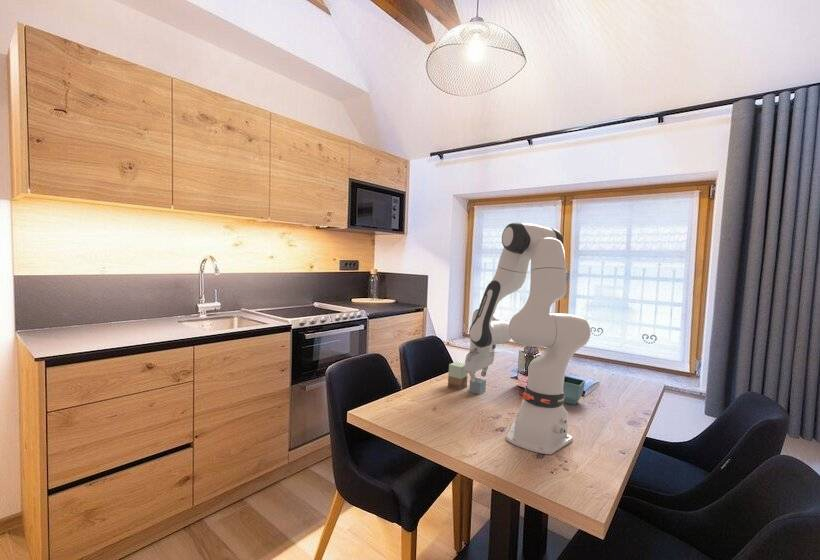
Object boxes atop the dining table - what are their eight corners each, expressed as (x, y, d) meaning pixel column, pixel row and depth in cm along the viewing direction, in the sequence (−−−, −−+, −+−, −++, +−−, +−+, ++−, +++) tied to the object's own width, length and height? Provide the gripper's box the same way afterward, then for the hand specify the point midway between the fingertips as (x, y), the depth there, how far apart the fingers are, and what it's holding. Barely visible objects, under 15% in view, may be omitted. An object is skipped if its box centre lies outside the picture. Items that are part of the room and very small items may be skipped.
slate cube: (480, 394, 155) (480, 383, 155) (469, 391, 158) (469, 380, 158) (485, 391, 159) (486, 380, 159) (474, 389, 162) (475, 377, 162)
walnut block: (460, 390, 159) (460, 379, 159) (447, 387, 163) (448, 375, 163) (466, 387, 164) (467, 375, 164) (454, 384, 168) (455, 372, 167)
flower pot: (578, 408, 146) (580, 385, 146) (555, 402, 151) (556, 380, 151) (583, 402, 153) (585, 380, 153) (561, 396, 158) (562, 375, 158)
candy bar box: (542, 392, 162) (544, 354, 161) (532, 393, 160) (535, 355, 159) (524, 384, 172) (527, 348, 171) (515, 385, 170) (518, 349, 169)
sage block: (460, 378, 159) (461, 367, 159) (448, 375, 163) (449, 364, 162) (467, 375, 164) (468, 364, 164) (455, 372, 167) (455, 361, 167)
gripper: (475, 352, 148) (473, 386, 149) (497, 344, 164) (495, 375, 166) (461, 349, 152) (459, 382, 153) (484, 341, 168) (482, 371, 169)
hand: (478, 378), depth 159 cm, fingers open, 8 cm apart
